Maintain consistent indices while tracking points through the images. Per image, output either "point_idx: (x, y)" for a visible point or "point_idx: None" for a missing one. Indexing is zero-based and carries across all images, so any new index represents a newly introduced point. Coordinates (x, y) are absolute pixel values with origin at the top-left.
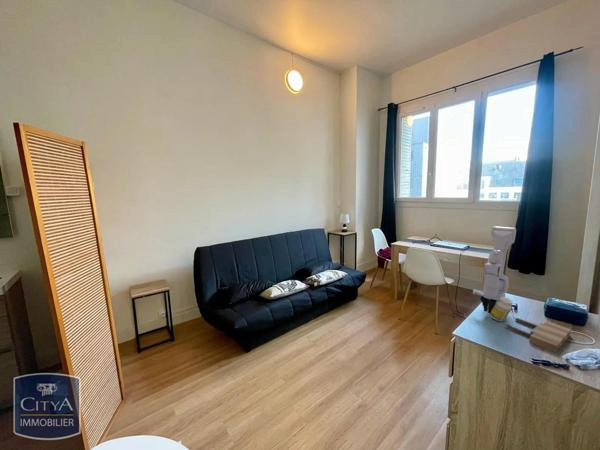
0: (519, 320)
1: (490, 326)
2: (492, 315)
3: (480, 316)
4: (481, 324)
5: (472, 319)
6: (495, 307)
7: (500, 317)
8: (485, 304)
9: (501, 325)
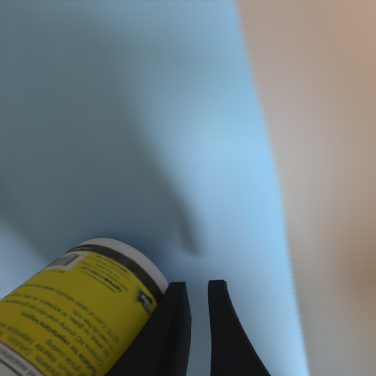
0: None
1: (42, 74)
2: (116, 255)
3: (223, 196)
4: (105, 14)
5: (230, 31)
6: (25, 373)
7: (41, 271)
8: (212, 371)
9: (32, 198)
